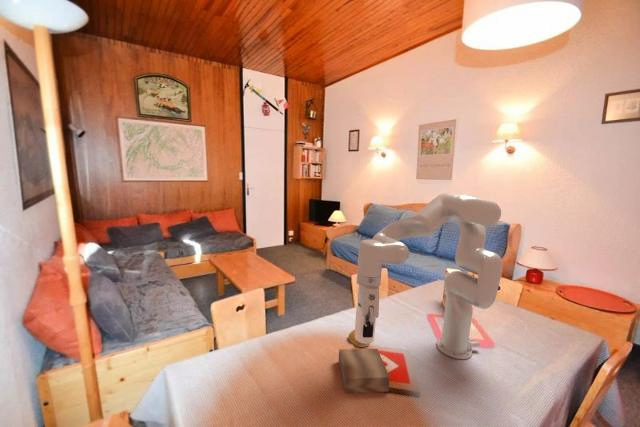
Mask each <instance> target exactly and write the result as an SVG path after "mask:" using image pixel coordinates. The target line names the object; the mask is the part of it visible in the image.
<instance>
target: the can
mask: <svg viewBox="0 0 640 427" xmlns="http://www.w3.org/2000/svg"><path fill="white" fill-rule="evenodd" d="M366 316H369V314H367V315H366ZM374 318H375V323H374V329H373V337H370V338H364V337H363V325H364V317H363V315H362V311H361V307H360V305H359V303H358V302H357V306H356V311H355V321H354V322H355V324H354V330H355V339H356V340H357V341H358V342H359V343H362V344H370V345H371V344H372V343H373V342H374V341H375V337H376V336H375V335H376V334H375V333H376V322H377V318H376V317H375V316H374ZM369 319H370V318H367V321H369Z"/></svg>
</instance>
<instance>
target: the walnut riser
mask: <svg viewBox="0 0 640 427" xmlns="http://www.w3.org/2000/svg"><path fill="white" fill-rule="evenodd" d="M382 358H383V357H382V356H381V354H380V352H379V350H378V348H341V349H339V350H338V366H339V372H340V376H341V380H342V385H343V390H344V393H345V394H346V393H347V394H349V393H381V392H385V393H386V392H389V391H390V383H391V382H390V380H391V377H390V374H389V373H388V370H387V368H386V365H385V364H384V361H383V359H382Z"/></svg>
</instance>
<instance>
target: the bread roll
mask: <svg viewBox="0 0 640 427" xmlns="http://www.w3.org/2000/svg"><path fill="white" fill-rule="evenodd" d="M348 340H349V341H350V342H351V343H352V344H353V345H355V346H356V347H358V348H365V347H369V346H370V345H371V343H370V344H362V343H359V342H358V341H357V340H356V339H355V329H353V330H352V331H350V332H349V333H348Z"/></svg>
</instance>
